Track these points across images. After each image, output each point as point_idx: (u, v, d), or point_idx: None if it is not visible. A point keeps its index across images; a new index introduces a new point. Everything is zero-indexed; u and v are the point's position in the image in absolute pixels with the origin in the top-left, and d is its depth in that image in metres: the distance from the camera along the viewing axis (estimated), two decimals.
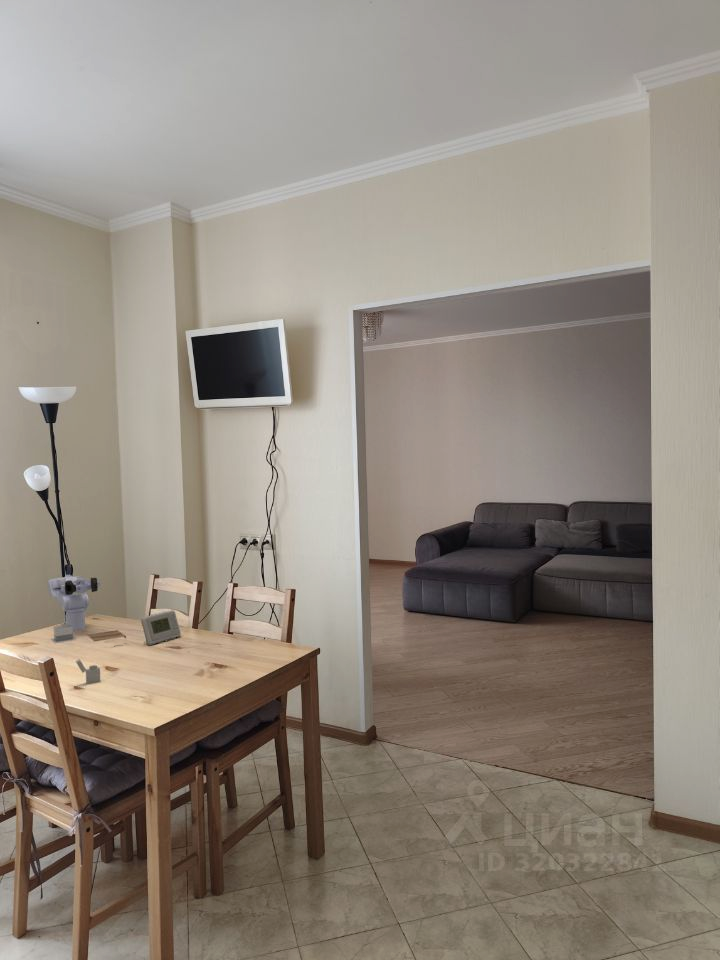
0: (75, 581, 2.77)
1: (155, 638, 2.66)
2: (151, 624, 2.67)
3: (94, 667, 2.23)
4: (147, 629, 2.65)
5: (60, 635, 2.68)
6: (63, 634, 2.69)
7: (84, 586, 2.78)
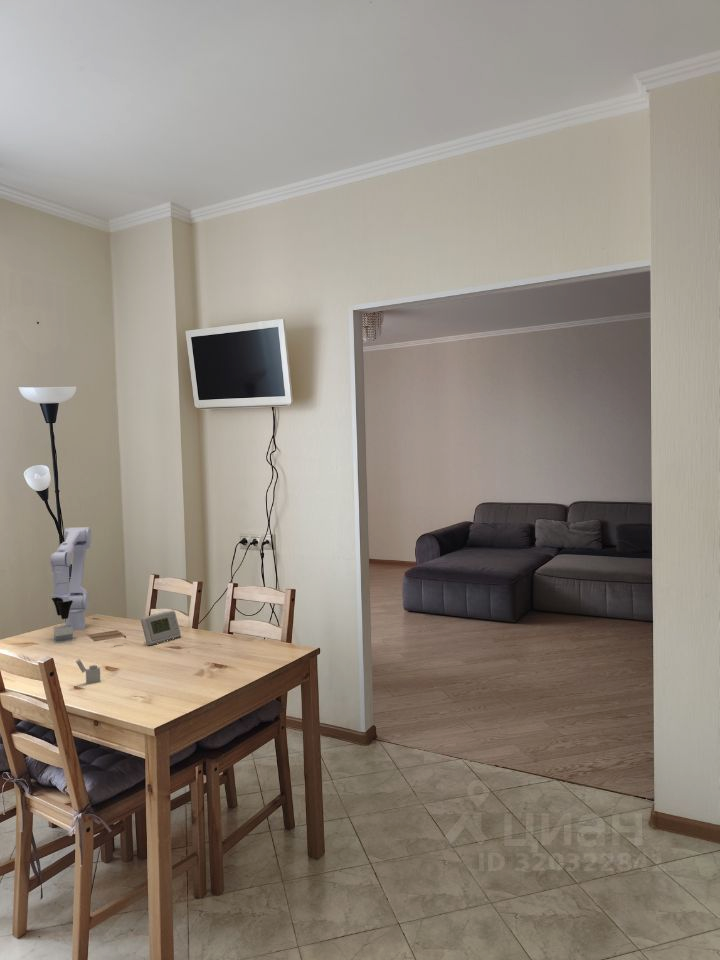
0: None
1: (155, 638, 2.66)
2: (151, 624, 2.67)
3: (94, 667, 2.23)
4: (147, 629, 2.65)
5: (60, 635, 2.68)
6: (63, 634, 2.69)
7: None
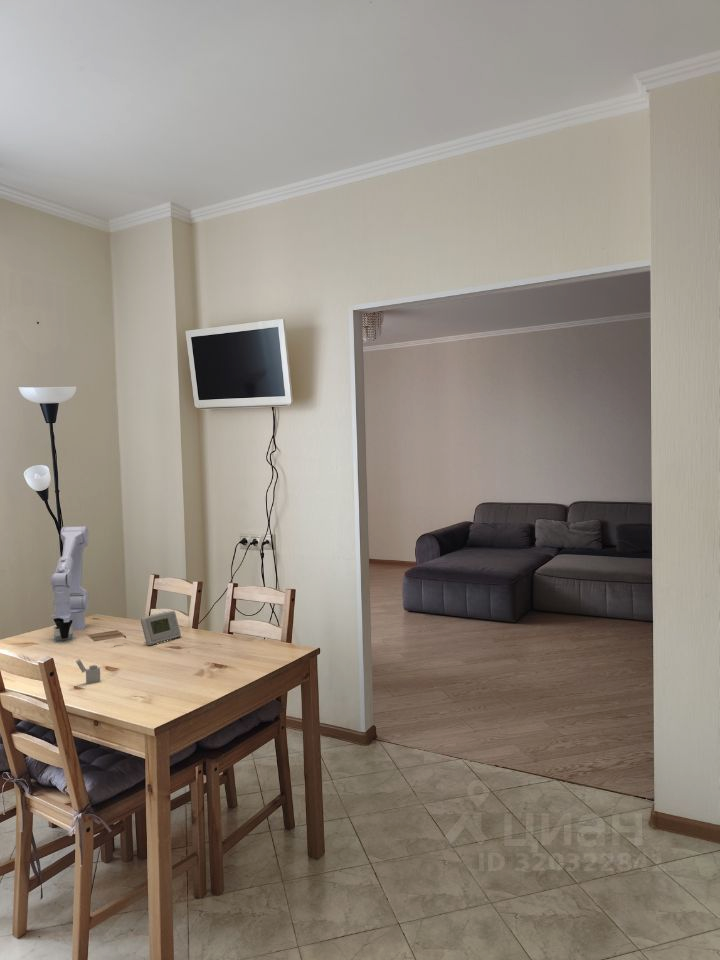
0: None
1: (155, 638, 2.66)
2: (151, 625, 2.67)
3: (94, 667, 2.23)
4: (146, 629, 2.64)
5: (60, 635, 2.68)
6: None
7: None
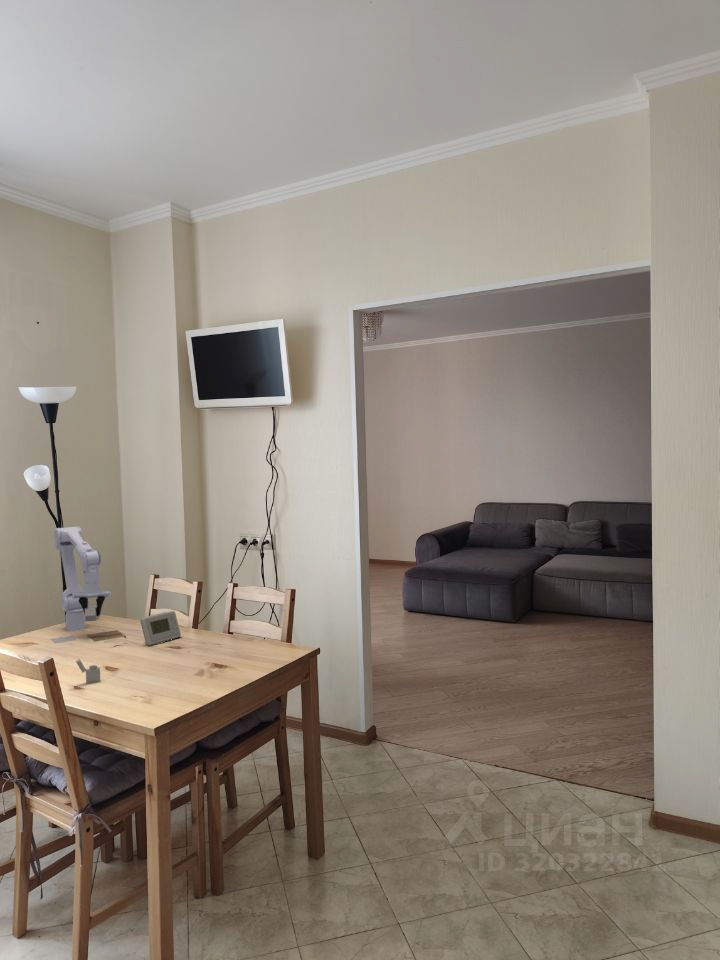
0: (85, 595, 2.71)
1: (154, 639, 2.65)
2: (151, 625, 2.66)
3: (94, 667, 2.23)
4: (146, 629, 2.64)
5: (96, 614, 2.72)
6: None
7: None
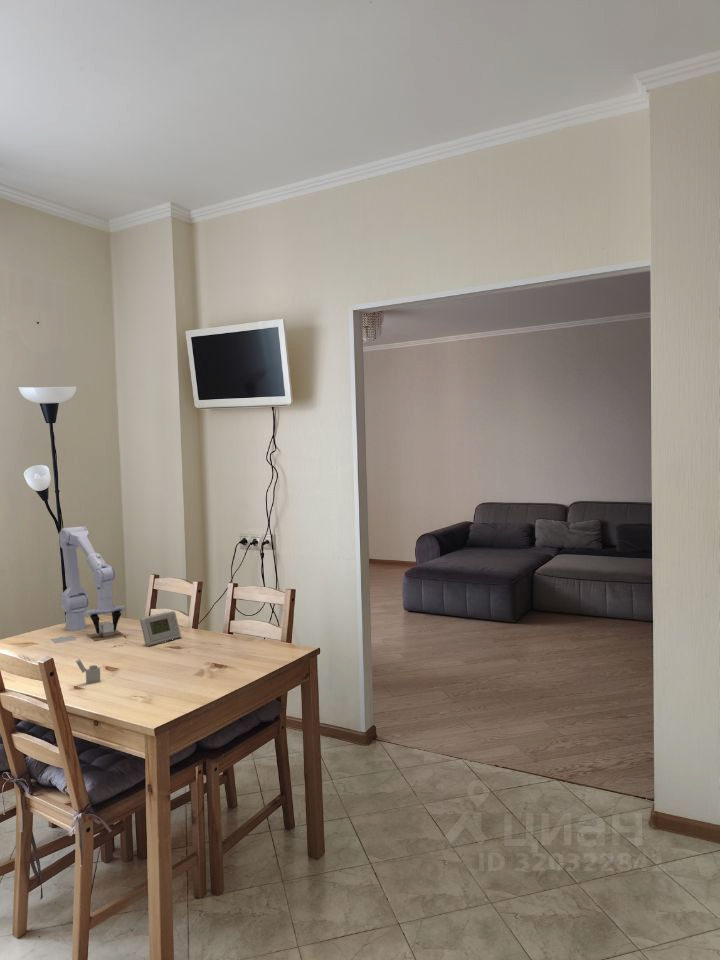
0: (102, 612, 2.72)
1: (154, 639, 2.65)
2: (150, 625, 2.66)
3: (94, 667, 2.23)
4: (146, 630, 2.64)
5: None
6: None
7: (108, 612, 2.76)
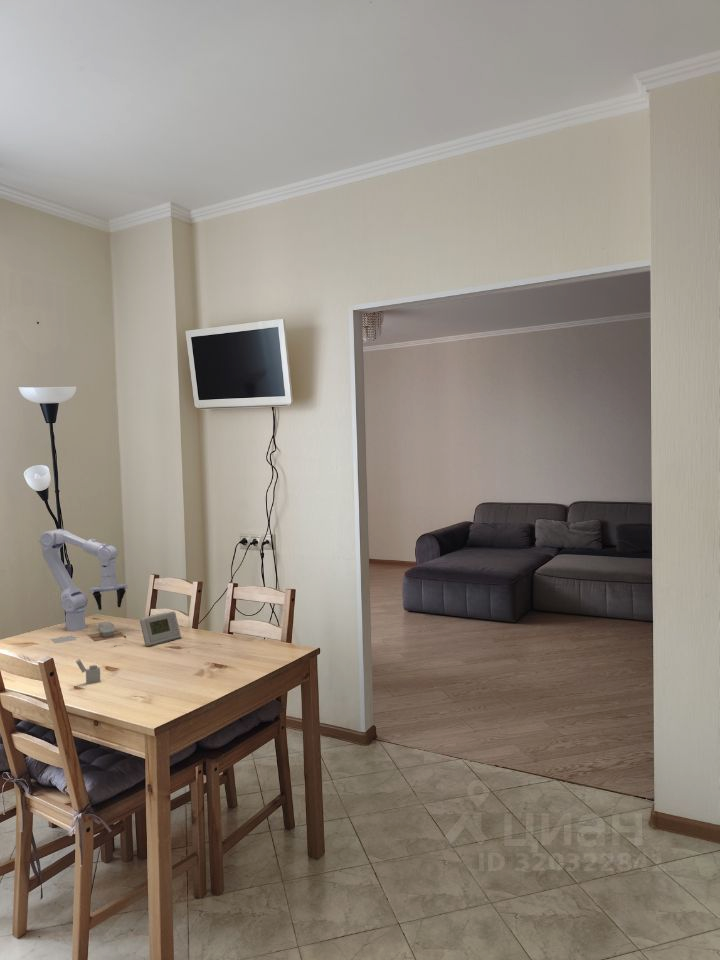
0: None
1: (153, 639, 2.65)
2: (150, 625, 2.66)
3: (94, 667, 2.23)
4: (145, 630, 2.64)
5: None
6: None
7: (111, 590, 2.85)
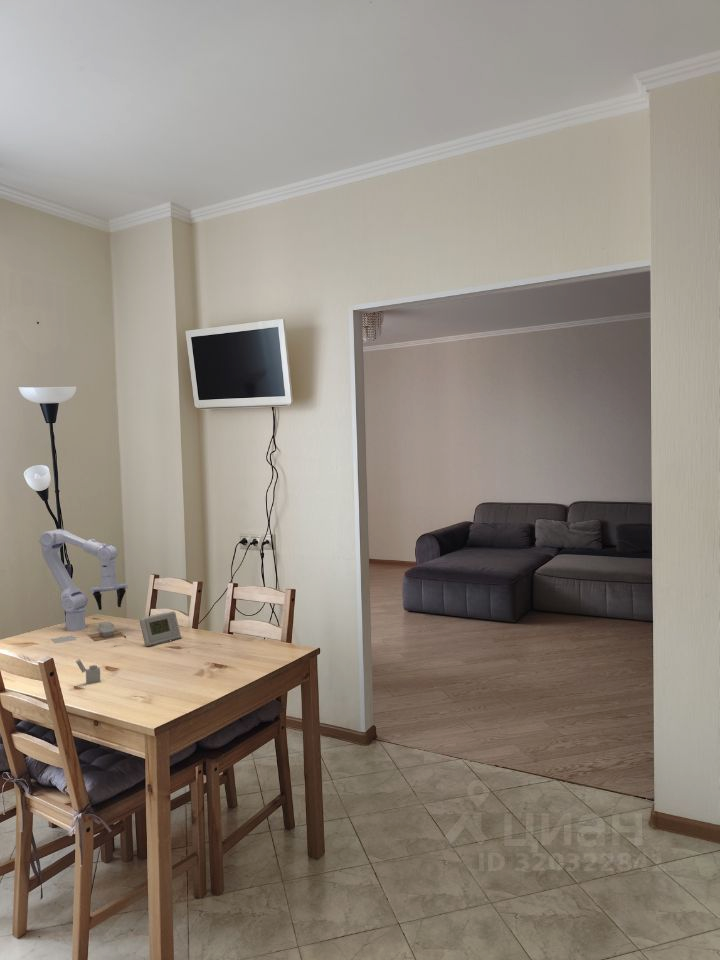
0: None
1: (153, 639, 2.64)
2: (150, 625, 2.65)
3: (94, 667, 2.23)
4: (145, 630, 2.63)
5: None
6: None
7: None
